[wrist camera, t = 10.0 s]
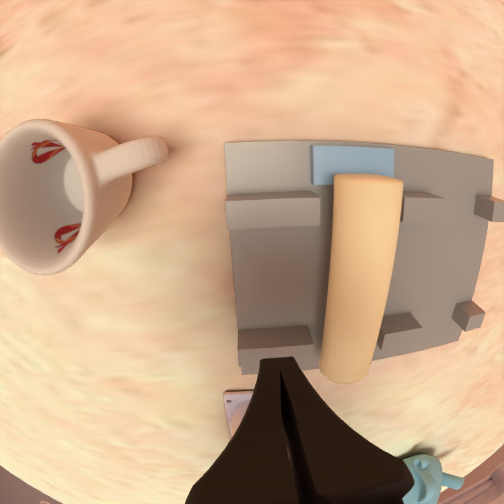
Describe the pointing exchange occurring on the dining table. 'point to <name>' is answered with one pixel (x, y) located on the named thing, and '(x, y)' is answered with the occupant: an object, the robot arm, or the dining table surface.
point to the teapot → (428, 479)
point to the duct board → (320, 237)
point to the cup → (64, 190)
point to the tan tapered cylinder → (359, 271)
